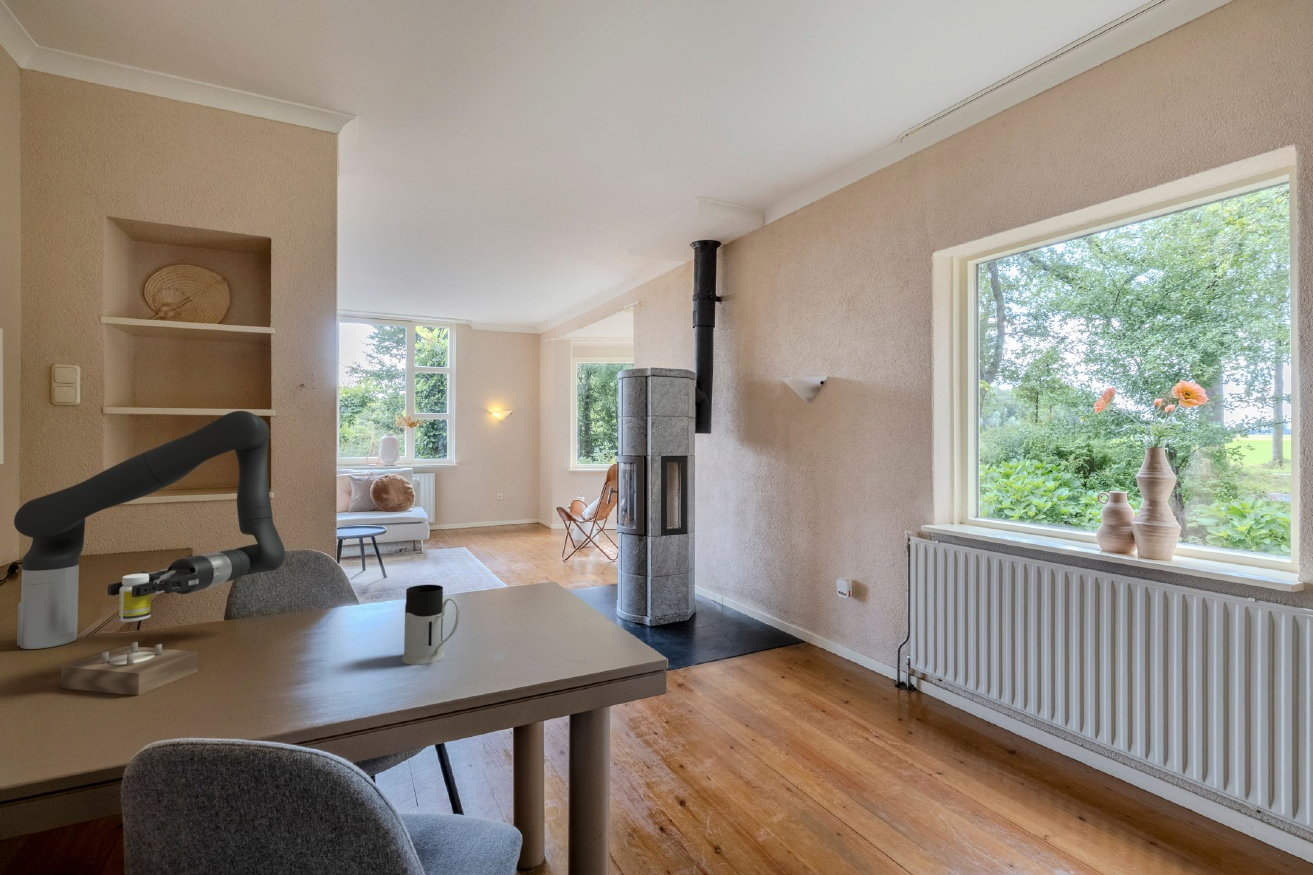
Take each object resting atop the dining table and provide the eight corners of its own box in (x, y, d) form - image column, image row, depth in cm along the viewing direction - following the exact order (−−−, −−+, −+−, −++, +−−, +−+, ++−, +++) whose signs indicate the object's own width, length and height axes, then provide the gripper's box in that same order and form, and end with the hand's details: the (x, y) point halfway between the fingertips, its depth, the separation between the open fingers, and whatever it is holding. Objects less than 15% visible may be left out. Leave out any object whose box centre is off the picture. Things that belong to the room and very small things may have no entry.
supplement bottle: (156, 616, 122) (157, 574, 122) (129, 623, 117) (130, 579, 117) (140, 614, 123) (140, 572, 123) (112, 620, 119) (113, 576, 119)
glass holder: (424, 648, 141) (425, 582, 141) (472, 658, 134) (473, 589, 134) (392, 660, 133) (393, 590, 133) (442, 672, 126) (443, 598, 127)
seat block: (61, 687, 115) (61, 655, 116) (125, 665, 127) (126, 636, 127) (138, 695, 113) (139, 662, 113) (197, 671, 125) (198, 641, 125)
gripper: (172, 553, 136) (89, 569, 119) (229, 556, 133) (153, 573, 117) (171, 587, 136) (89, 608, 119) (229, 591, 133) (153, 613, 117)
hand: (121, 591), depth 118 cm, fingers closed on supplement bottle, 4 cm apart
